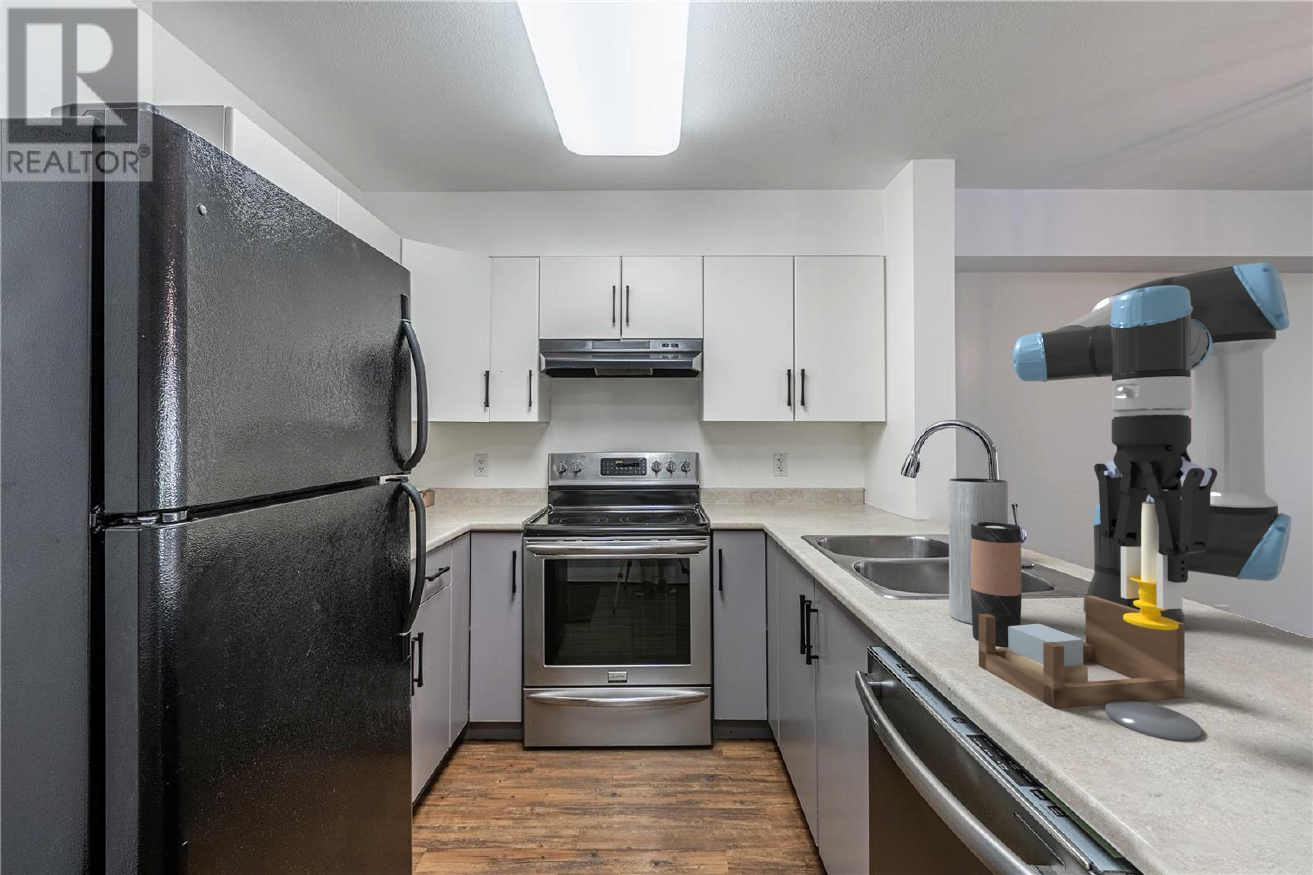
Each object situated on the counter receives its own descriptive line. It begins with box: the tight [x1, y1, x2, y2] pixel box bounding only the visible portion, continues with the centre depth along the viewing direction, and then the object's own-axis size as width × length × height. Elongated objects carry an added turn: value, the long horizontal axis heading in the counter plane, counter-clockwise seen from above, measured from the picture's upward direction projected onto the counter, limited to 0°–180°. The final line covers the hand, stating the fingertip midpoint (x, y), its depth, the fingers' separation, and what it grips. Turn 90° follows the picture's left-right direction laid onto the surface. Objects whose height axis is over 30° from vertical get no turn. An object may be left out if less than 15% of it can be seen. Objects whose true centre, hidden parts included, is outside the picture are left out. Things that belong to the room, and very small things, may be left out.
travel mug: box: [971, 522, 1023, 648], centre depth 100 cm, size 8×8×20 cm
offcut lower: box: [1005, 647, 1089, 684], centre depth 83 cm, size 6×8×4 cm
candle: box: [1123, 497, 1179, 630], centre depth 71 cm, size 5×5×16 cm
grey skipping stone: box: [1104, 700, 1202, 742], centre depth 71 cm, size 9×9×1 cm
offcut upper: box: [1007, 623, 1084, 667], centre depth 83 cm, size 6×7×4 cm
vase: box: [948, 477, 1009, 625], centre depth 112 cm, size 10×10×27 cm
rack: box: [978, 595, 1186, 709], centre depth 83 cm, size 20×14×10 cm
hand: (1150, 602), depth 71 cm, fingers closed on candle, 4 cm apart
